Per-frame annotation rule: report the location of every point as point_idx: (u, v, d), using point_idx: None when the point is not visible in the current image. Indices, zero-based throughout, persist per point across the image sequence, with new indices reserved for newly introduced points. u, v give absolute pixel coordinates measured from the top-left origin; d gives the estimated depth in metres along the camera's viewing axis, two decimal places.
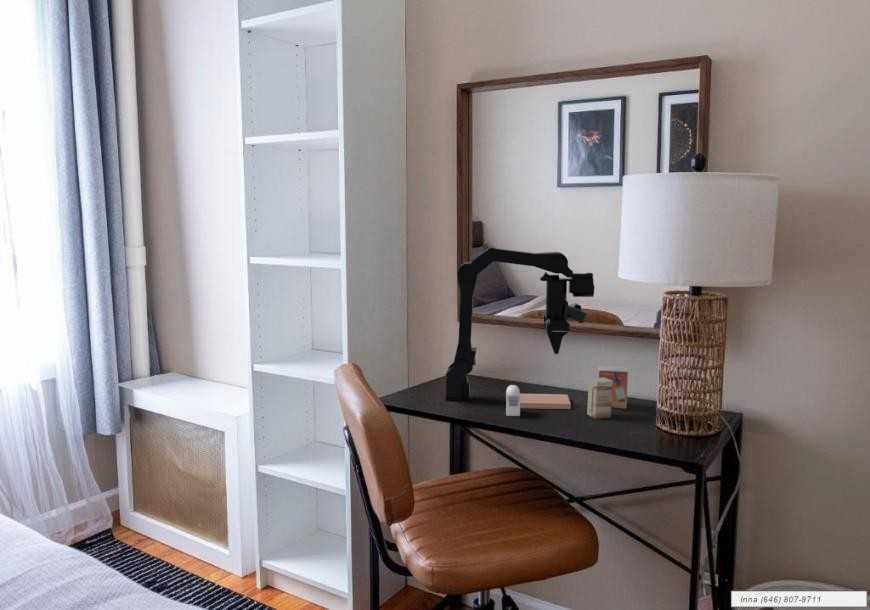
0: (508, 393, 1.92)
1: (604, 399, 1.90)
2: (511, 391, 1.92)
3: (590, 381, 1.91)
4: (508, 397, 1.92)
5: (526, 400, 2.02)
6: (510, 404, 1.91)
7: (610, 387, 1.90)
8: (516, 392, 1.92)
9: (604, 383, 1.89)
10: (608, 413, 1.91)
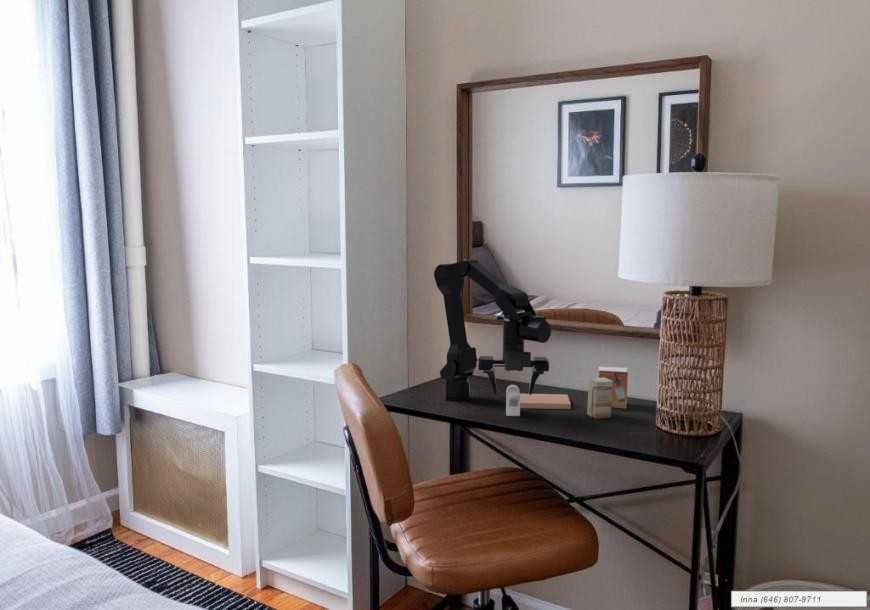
0: (508, 393, 1.92)
1: (604, 399, 1.90)
2: (511, 391, 1.92)
3: (590, 381, 1.91)
4: (508, 397, 1.92)
5: (526, 400, 2.02)
6: (510, 404, 1.91)
7: (610, 387, 1.90)
8: (516, 392, 1.92)
9: (604, 383, 1.89)
10: (608, 413, 1.91)
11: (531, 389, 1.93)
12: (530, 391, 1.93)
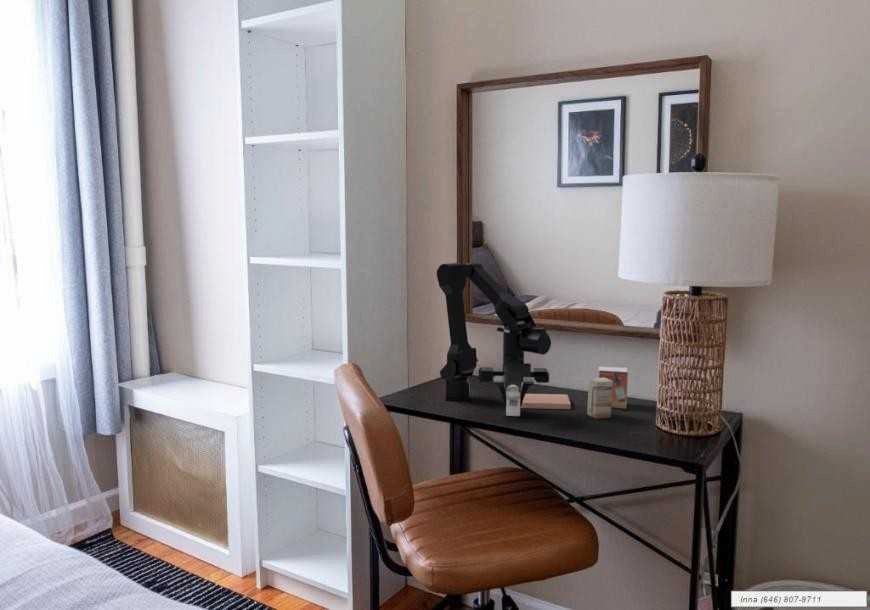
0: (508, 393, 1.92)
1: (604, 399, 1.90)
2: (511, 391, 1.92)
3: (590, 381, 1.91)
4: (508, 397, 1.92)
5: (526, 400, 2.02)
6: (510, 404, 1.91)
7: (610, 387, 1.90)
8: (516, 392, 1.92)
9: (604, 383, 1.89)
10: (608, 413, 1.91)
11: (521, 400, 1.94)
12: (520, 402, 1.94)
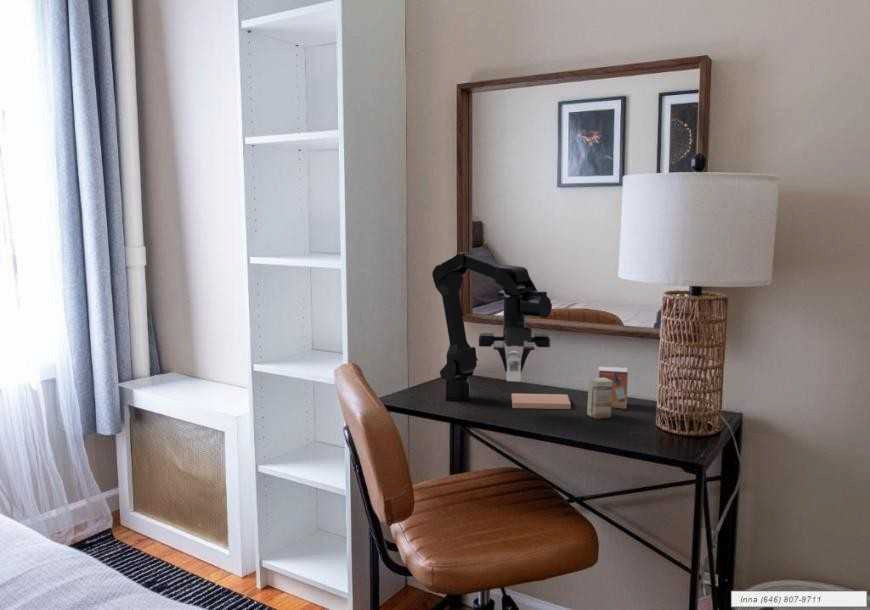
0: (509, 358, 1.91)
1: (604, 399, 1.90)
2: (512, 356, 1.91)
3: (590, 381, 1.91)
4: (509, 362, 1.91)
5: (526, 400, 2.02)
6: (511, 369, 1.90)
7: (610, 387, 1.90)
8: (517, 357, 1.91)
9: (604, 383, 1.89)
10: (608, 413, 1.91)
11: (522, 365, 1.92)
12: (521, 367, 1.93)
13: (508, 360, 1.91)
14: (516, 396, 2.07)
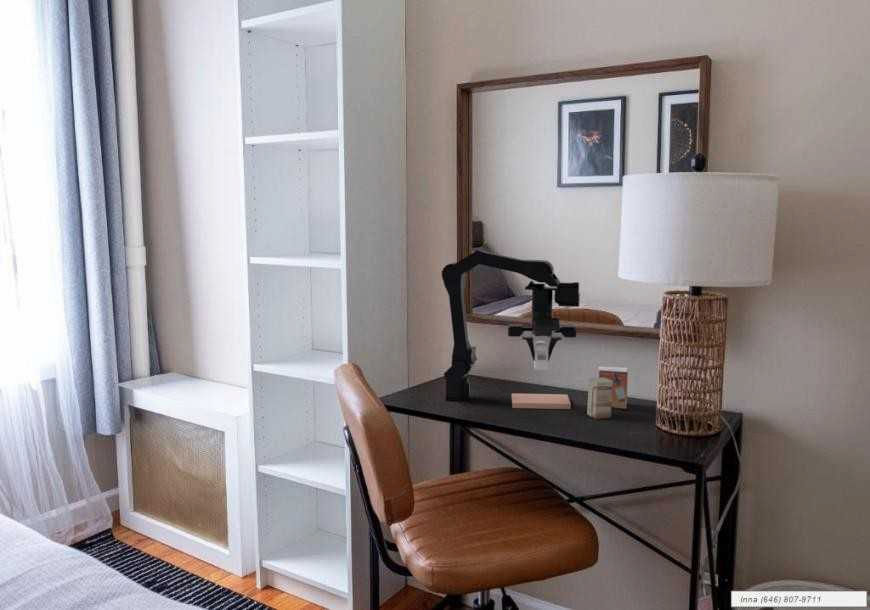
0: (537, 348, 2.00)
1: (604, 399, 1.90)
2: (540, 346, 2.00)
3: (590, 381, 1.91)
4: (537, 351, 2.00)
5: (526, 400, 2.02)
6: (539, 358, 1.99)
7: (610, 387, 1.90)
8: (544, 347, 2.00)
9: (604, 383, 1.89)
10: (608, 413, 1.91)
11: (549, 355, 2.02)
12: (548, 357, 2.02)
13: (536, 349, 2.00)
14: (516, 396, 2.07)
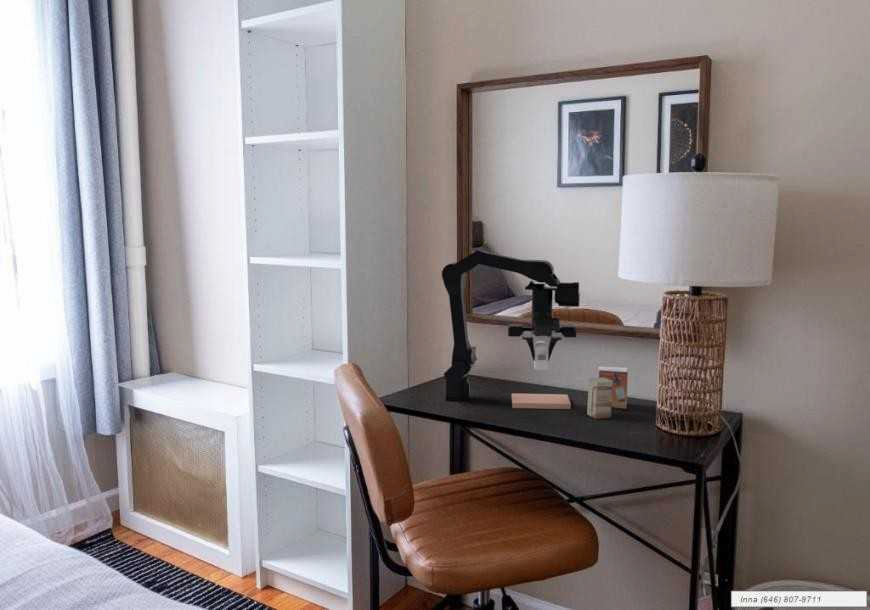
0: (537, 348, 2.00)
1: (604, 399, 1.90)
2: (540, 346, 2.00)
3: (590, 381, 1.91)
4: (537, 351, 2.00)
5: (526, 400, 2.02)
6: (539, 358, 1.99)
7: (610, 387, 1.90)
8: (544, 347, 2.00)
9: (604, 383, 1.89)
10: (608, 413, 1.91)
11: (549, 355, 2.02)
12: (548, 357, 2.02)
13: (536, 349, 2.00)
14: (516, 396, 2.07)
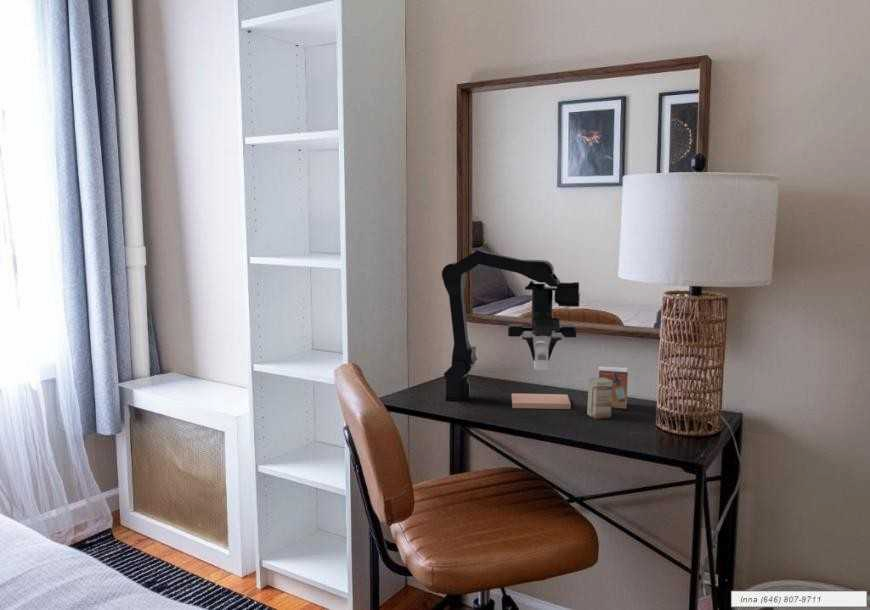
0: (537, 348, 2.00)
1: (604, 399, 1.90)
2: (540, 346, 2.00)
3: (590, 381, 1.91)
4: (537, 351, 2.00)
5: (526, 400, 2.02)
6: (539, 358, 1.99)
7: (610, 387, 1.90)
8: (544, 347, 2.00)
9: (604, 383, 1.89)
10: (608, 413, 1.91)
11: (549, 355, 2.02)
12: (548, 357, 2.02)
13: (536, 349, 2.00)
14: (516, 396, 2.07)
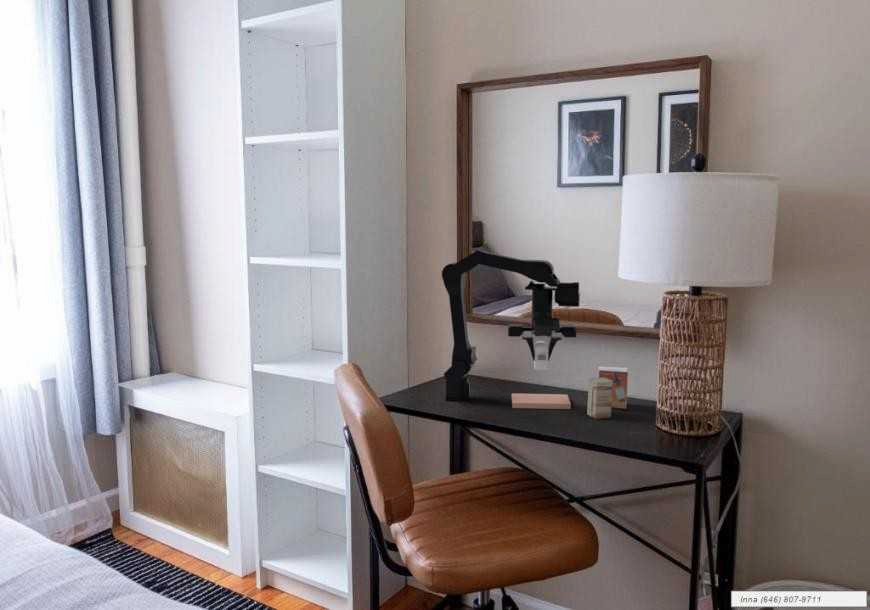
0: (537, 348, 2.00)
1: (604, 399, 1.90)
2: (540, 346, 2.00)
3: (590, 381, 1.91)
4: (537, 351, 2.00)
5: (526, 400, 2.02)
6: (539, 358, 1.99)
7: (610, 387, 1.90)
8: (544, 347, 2.00)
9: (604, 383, 1.89)
10: (608, 413, 1.91)
11: (549, 355, 2.02)
12: (548, 357, 2.02)
13: (536, 349, 2.00)
14: (516, 396, 2.07)
